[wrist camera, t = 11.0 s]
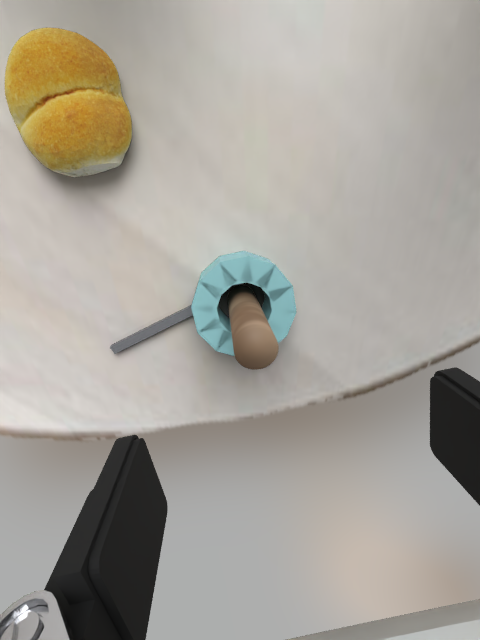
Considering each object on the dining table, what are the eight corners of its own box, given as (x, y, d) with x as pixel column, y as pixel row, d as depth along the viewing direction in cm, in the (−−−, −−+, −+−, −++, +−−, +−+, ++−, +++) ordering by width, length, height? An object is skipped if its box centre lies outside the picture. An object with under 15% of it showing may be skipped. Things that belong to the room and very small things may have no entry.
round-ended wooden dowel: (252, 281, 29) (274, 323, 17) (257, 308, 30) (281, 364, 18) (224, 287, 29) (229, 333, 17) (230, 313, 30) (238, 373, 18)
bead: (277, 243, 28) (287, 247, 24) (290, 329, 31) (301, 345, 27) (186, 262, 28) (181, 270, 24) (207, 347, 31) (206, 365, 27)
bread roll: (106, 29, 23) (83, -9, 19) (146, 162, 25) (134, 152, 22) (-4, 57, 23) (-49, 24, 19) (49, 187, 25) (19, 182, 22)
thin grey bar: (190, 305, 29) (190, 306, 29) (195, 312, 29) (194, 314, 29) (111, 344, 30) (109, 347, 29) (116, 351, 30) (114, 354, 29)
